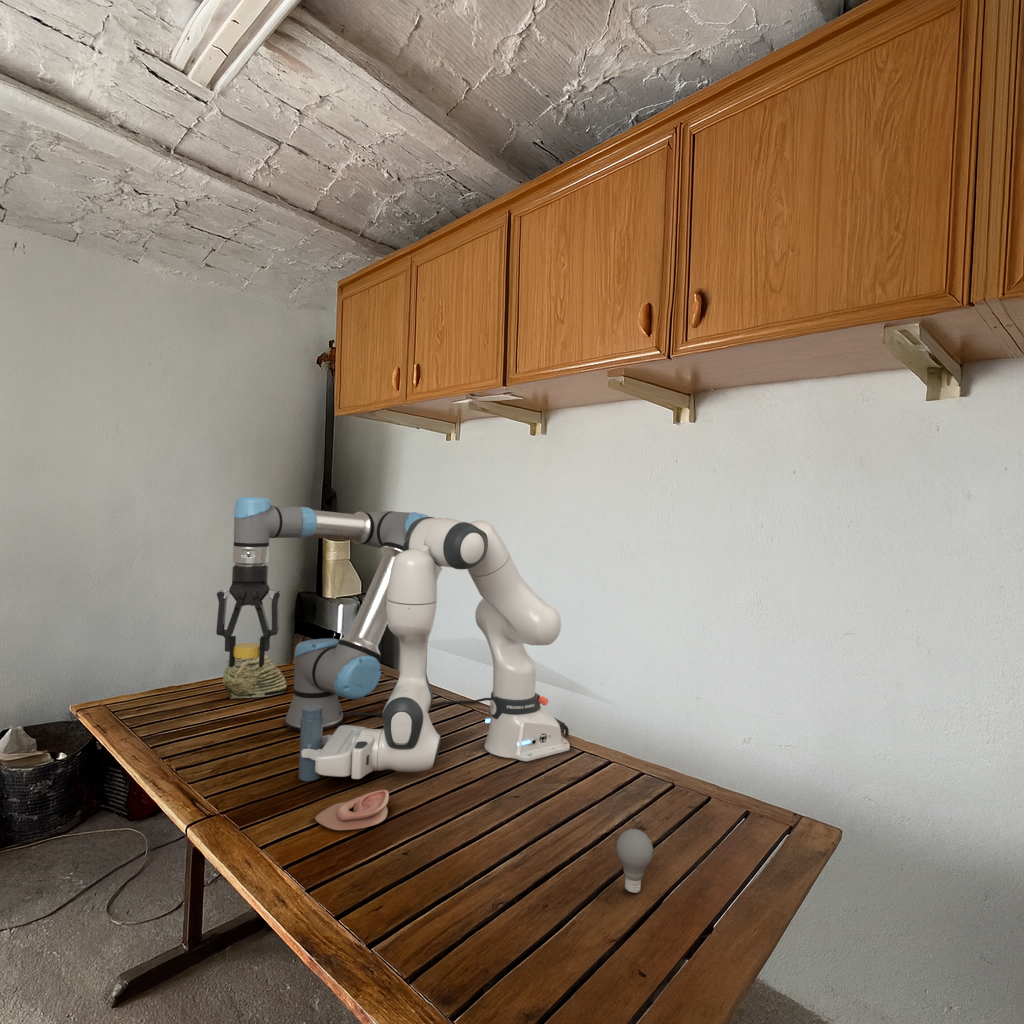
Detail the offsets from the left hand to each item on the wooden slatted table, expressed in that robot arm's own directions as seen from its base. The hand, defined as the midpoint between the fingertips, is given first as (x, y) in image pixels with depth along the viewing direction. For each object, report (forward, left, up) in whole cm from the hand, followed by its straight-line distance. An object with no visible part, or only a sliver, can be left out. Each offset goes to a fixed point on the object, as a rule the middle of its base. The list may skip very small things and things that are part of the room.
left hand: (246, 665), depth 145 cm
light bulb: (-20, +89, -24) cm, 94 cm away
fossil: (-29, -48, -24) cm, 61 cm away
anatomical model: (-3, +36, -24) cm, 43 cm away
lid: (0, 0, +4) cm, 4 cm away
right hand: (-8, +13, -17) cm, 23 cm away
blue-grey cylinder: (-8, +14, -24) cm, 29 cm away
